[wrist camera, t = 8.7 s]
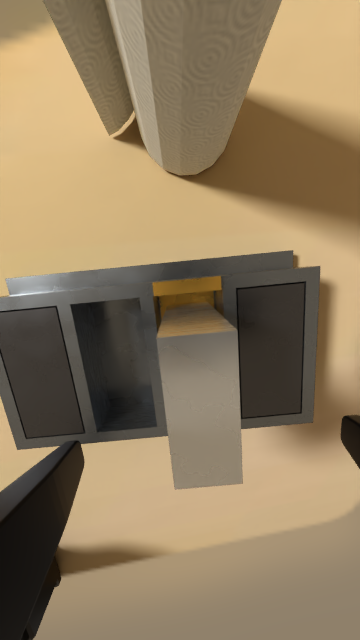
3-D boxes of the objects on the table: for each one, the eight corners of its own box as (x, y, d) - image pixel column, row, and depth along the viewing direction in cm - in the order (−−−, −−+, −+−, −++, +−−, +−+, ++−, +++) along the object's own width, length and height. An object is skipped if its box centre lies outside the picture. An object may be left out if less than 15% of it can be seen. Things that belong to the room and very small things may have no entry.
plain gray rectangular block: (175, 390, 17) (174, 489, 9) (166, 305, 16) (156, 337, 8) (212, 387, 17) (242, 483, 9) (207, 301, 16) (237, 330, 8)
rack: (53, 424, 19) (19, 466, 15) (15, 278, 16) (-40, 280, 12) (284, 403, 19) (314, 439, 15) (286, 251, 16) (323, 244, 12)
